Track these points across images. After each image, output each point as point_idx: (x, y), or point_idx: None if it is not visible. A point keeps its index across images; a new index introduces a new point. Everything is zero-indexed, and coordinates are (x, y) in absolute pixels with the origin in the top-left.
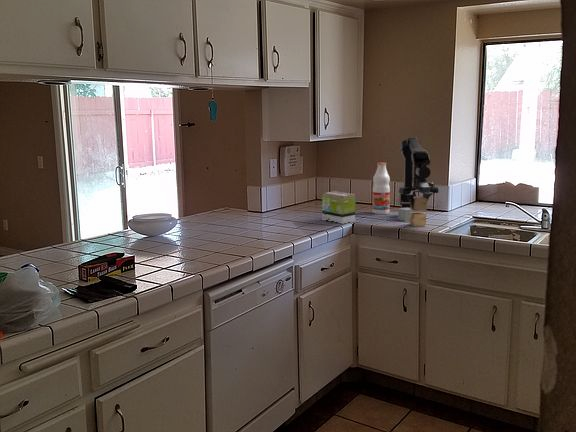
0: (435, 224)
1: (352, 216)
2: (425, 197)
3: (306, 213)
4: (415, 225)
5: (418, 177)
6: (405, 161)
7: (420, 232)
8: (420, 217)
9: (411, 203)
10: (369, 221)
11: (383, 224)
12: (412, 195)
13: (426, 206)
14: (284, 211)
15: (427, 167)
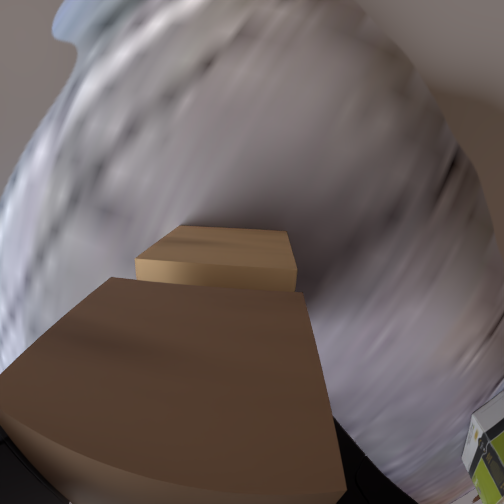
0: (97, 247)
1: (496, 418)
2: (24, 459)
3: (452, 488)
4: (280, 231)
5: None
6: None
7: (356, 9)
8: (221, 250)
9: (343, 433)
10: (428, 420)
11: (436, 350)
12: None
13: (82, 302)
14: (462, 492)
15: None
